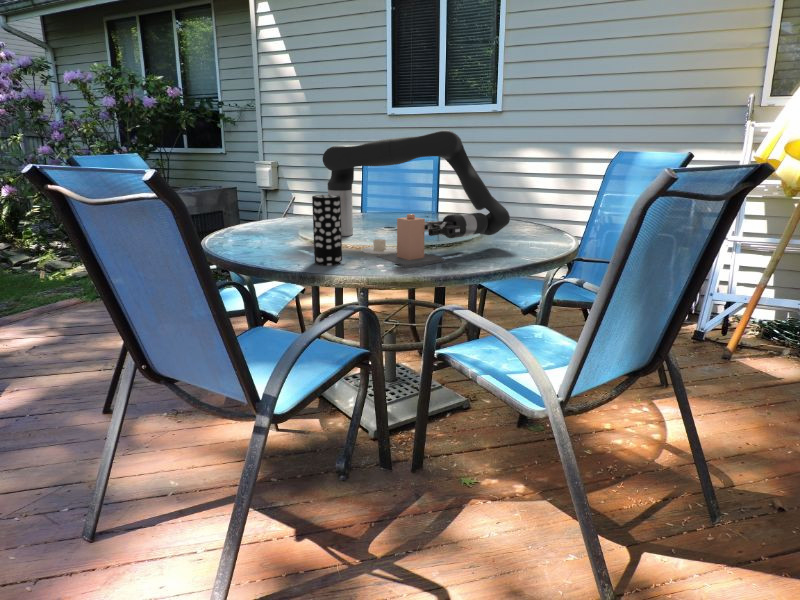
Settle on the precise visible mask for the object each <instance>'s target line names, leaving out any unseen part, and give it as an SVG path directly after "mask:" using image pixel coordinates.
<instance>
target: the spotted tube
mask: <svg viewBox="0 0 800 600" xmlns="http://www.w3.org/2000/svg"><path fill="white" fill-rule="evenodd" d="M311 202H312V204H311V205H312V207H311V208H312V225H313V226H312V228H313V229H312V230H313V251H314V252H313V253H314V256H313V257H314V264H315V265H318V266H325V267H327V266H337V265H340V264H342V261H343V249H342V248H343V247H342V243H343V242H342V236H341V199H340V196H338V195H328V194H316V195H312V197H311Z"/></svg>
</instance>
